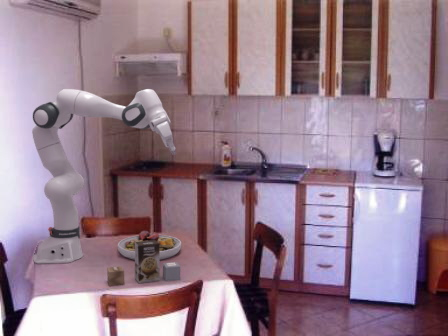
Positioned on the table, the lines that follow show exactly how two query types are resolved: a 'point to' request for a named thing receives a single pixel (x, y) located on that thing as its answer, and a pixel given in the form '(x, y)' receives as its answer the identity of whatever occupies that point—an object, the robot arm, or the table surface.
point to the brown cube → (115, 276)
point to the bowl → (166, 243)
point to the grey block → (171, 271)
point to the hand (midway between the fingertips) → (174, 152)
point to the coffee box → (147, 261)
